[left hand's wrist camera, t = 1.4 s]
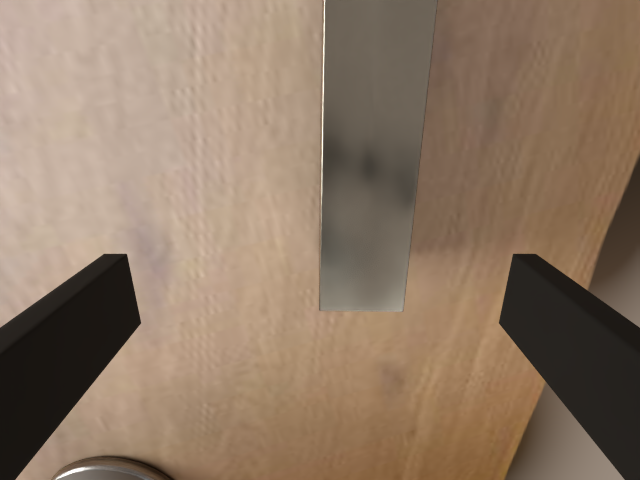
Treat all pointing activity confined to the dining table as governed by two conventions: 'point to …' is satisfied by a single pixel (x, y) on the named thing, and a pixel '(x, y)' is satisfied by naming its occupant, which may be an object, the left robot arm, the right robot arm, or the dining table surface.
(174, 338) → the dining table surface
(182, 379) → the dining table surface
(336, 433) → the dining table surface
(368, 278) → the bar
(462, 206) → the dining table surface
